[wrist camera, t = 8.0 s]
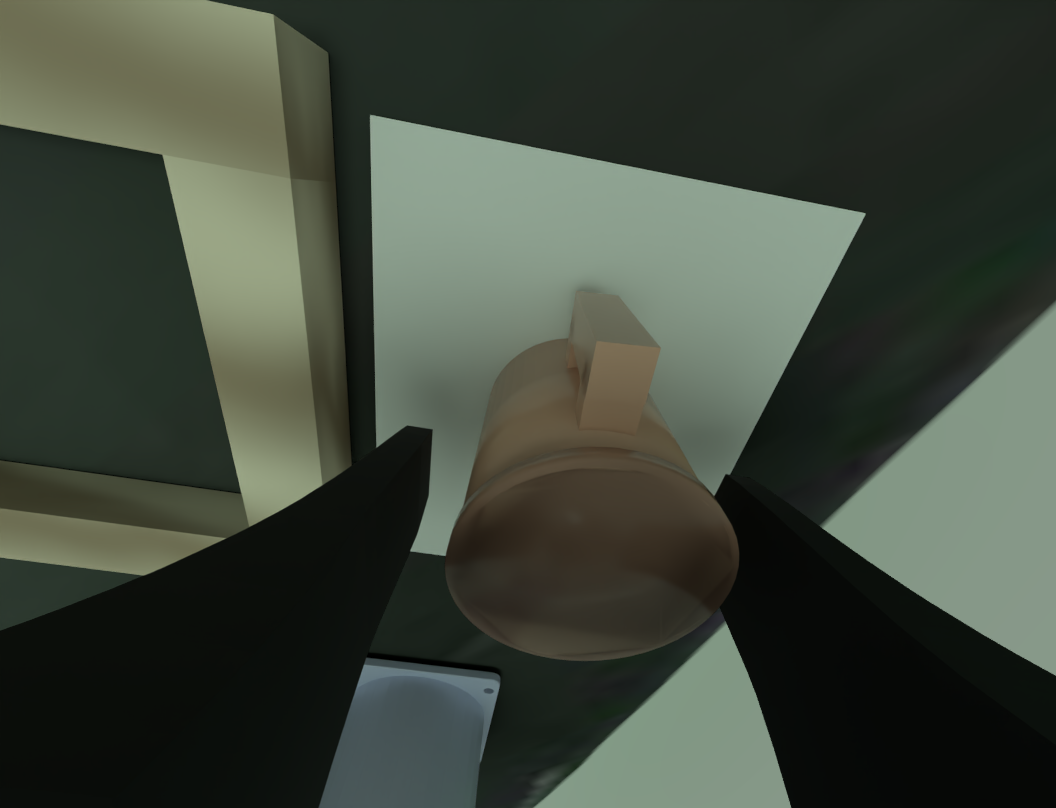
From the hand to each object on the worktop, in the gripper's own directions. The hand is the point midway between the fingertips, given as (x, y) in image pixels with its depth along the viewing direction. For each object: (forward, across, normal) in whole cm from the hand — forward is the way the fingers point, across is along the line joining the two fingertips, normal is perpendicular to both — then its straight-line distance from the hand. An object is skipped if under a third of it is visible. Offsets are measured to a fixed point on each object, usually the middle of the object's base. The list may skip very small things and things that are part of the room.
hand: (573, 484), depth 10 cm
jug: (+3, 0, 0) cm, 3 cm away
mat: (+3, 0, 0) cm, 3 cm away
